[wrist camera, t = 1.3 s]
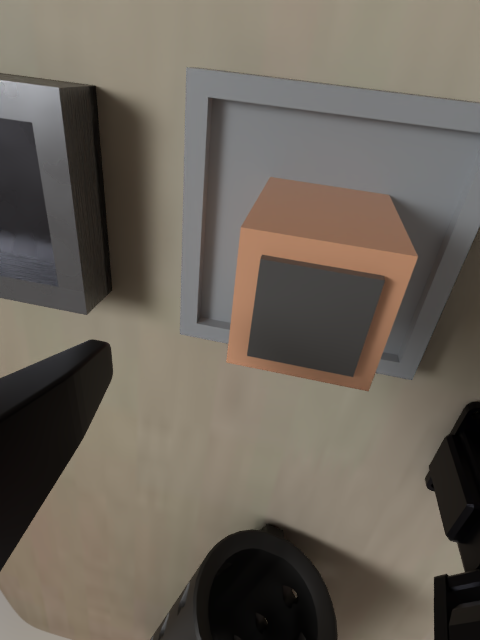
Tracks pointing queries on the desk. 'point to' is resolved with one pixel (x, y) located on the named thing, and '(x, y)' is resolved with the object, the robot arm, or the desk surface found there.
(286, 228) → the plug
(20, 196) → the socket
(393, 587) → the desk surface
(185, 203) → the tray
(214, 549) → the muzzle brake
